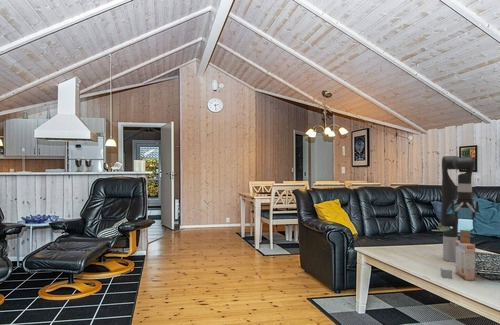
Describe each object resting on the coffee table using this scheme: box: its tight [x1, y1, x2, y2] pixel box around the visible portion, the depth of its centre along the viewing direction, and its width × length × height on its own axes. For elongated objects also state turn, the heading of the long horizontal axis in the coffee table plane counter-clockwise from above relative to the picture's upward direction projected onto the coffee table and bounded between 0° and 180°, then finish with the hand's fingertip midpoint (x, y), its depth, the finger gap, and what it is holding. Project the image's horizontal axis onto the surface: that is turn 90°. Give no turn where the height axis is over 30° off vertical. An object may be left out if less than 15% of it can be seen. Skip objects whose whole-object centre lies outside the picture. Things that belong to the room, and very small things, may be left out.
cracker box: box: [455, 239, 476, 281], centre depth 215 cm, size 14×6×21 cm, turn 170°
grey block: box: [440, 267, 453, 280], centre depth 215 cm, size 5×5×5 cm
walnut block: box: [459, 229, 471, 244], centre depth 216 cm, size 5×5×7 cm
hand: (464, 217), depth 216 cm, fingers open, 8 cm apart
